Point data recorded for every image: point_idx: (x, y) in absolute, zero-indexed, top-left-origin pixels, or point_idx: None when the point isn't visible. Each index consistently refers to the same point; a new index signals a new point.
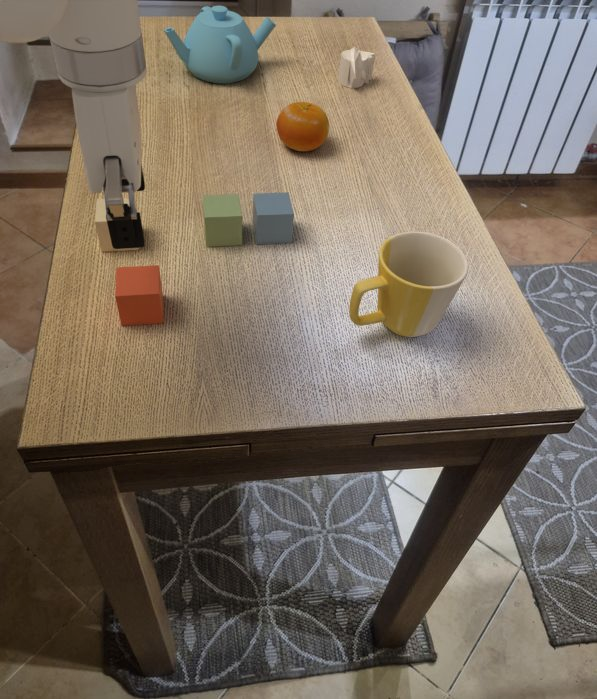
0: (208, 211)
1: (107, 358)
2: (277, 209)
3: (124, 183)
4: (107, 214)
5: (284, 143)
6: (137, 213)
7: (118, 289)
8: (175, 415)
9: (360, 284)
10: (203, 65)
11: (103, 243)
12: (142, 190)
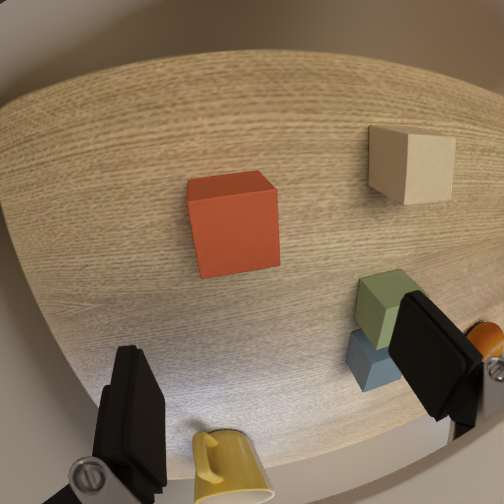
0: (396, 311)
1: (116, 173)
2: (375, 378)
3: (412, 333)
4: (74, 487)
5: (476, 328)
6: (154, 492)
7: (208, 204)
8: (47, 280)
9: (205, 475)
10: None
11: (378, 133)
12: (388, 350)
